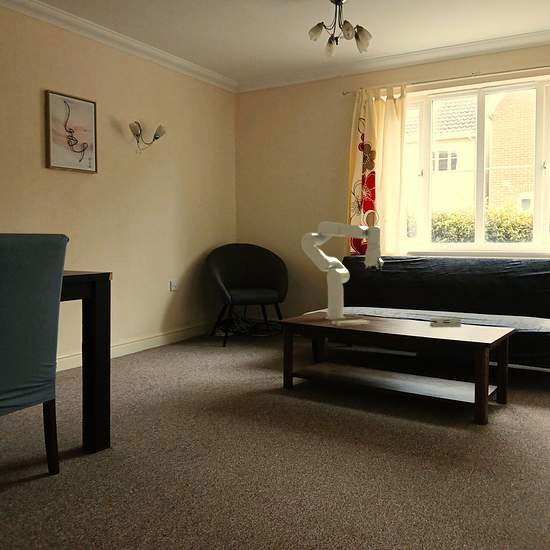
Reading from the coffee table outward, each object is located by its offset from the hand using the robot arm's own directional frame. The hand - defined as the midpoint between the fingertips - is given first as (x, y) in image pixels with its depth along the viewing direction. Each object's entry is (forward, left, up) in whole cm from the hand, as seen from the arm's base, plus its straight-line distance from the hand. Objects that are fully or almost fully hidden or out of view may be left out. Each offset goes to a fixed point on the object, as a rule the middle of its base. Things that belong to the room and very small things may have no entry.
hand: (373, 275), depth 334 cm
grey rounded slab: (+35, +26, -26) cm, 51 cm away
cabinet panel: (+2, -17, -28) cm, 33 cm away
